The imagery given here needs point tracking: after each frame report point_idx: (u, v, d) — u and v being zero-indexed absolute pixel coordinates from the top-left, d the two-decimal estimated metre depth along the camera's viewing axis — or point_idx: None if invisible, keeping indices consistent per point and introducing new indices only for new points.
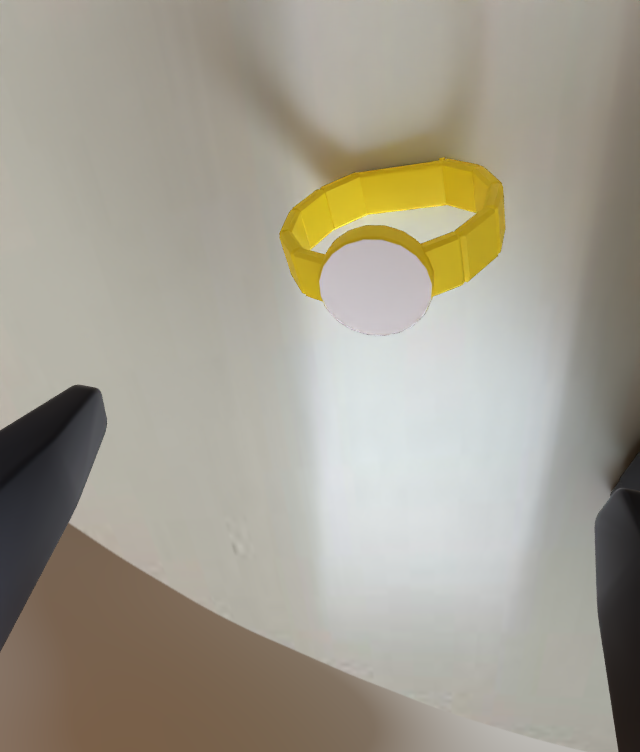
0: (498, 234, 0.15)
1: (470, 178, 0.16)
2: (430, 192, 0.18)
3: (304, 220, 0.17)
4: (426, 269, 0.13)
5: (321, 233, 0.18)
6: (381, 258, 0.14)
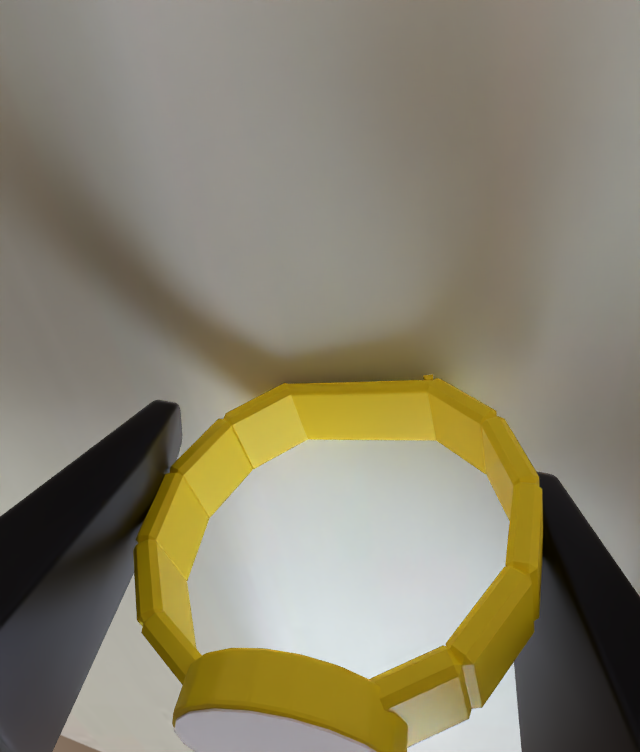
0: (536, 600, 0.07)
1: (477, 431, 0.09)
2: (409, 423, 0.11)
3: (192, 484, 0.10)
4: None
5: (229, 487, 0.11)
6: None
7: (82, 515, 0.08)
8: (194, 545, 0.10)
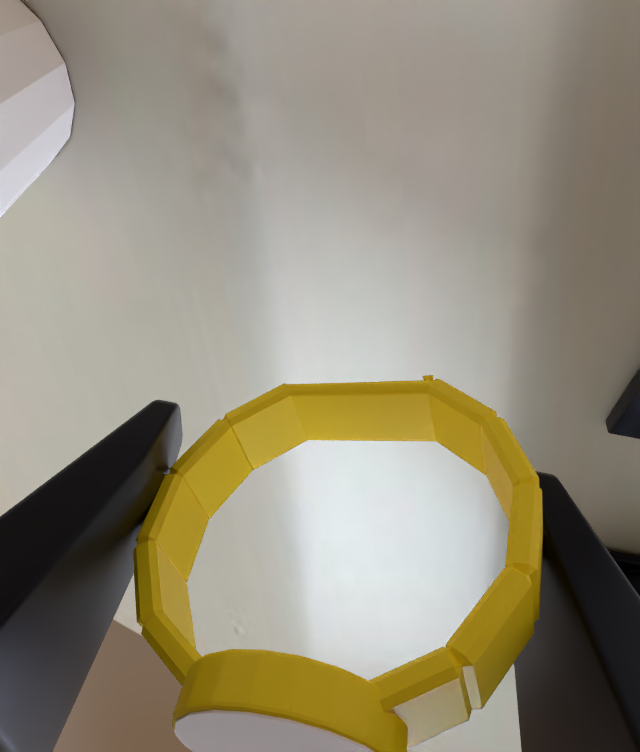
0: (536, 601, 0.07)
1: (477, 432, 0.09)
2: (409, 424, 0.11)
3: (192, 485, 0.10)
4: None
5: (228, 488, 0.11)
6: None
7: (82, 515, 0.08)
8: (194, 546, 0.10)
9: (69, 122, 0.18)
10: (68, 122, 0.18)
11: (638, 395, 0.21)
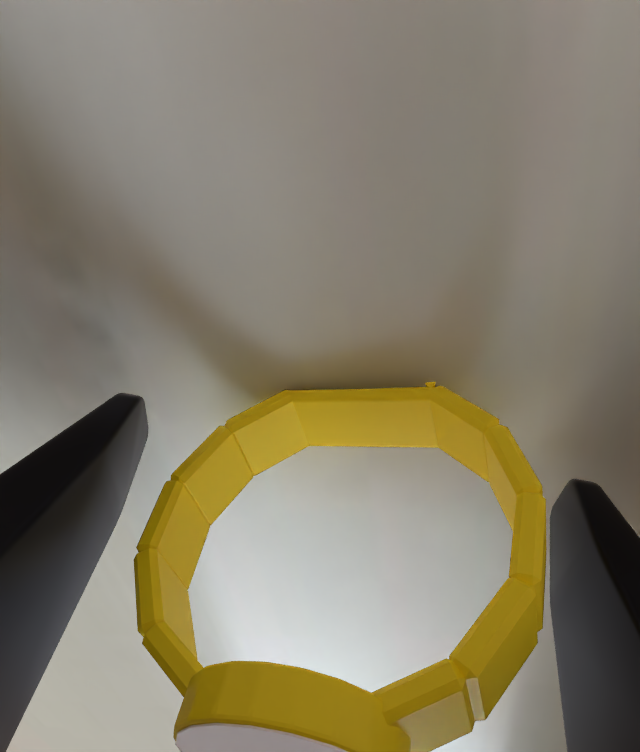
0: (539, 612, 0.07)
1: (480, 439, 0.09)
2: (411, 431, 0.10)
3: (193, 492, 0.10)
4: None
5: (230, 494, 0.11)
6: None
7: (35, 505, 0.08)
8: (195, 553, 0.10)
9: None
10: None
11: None
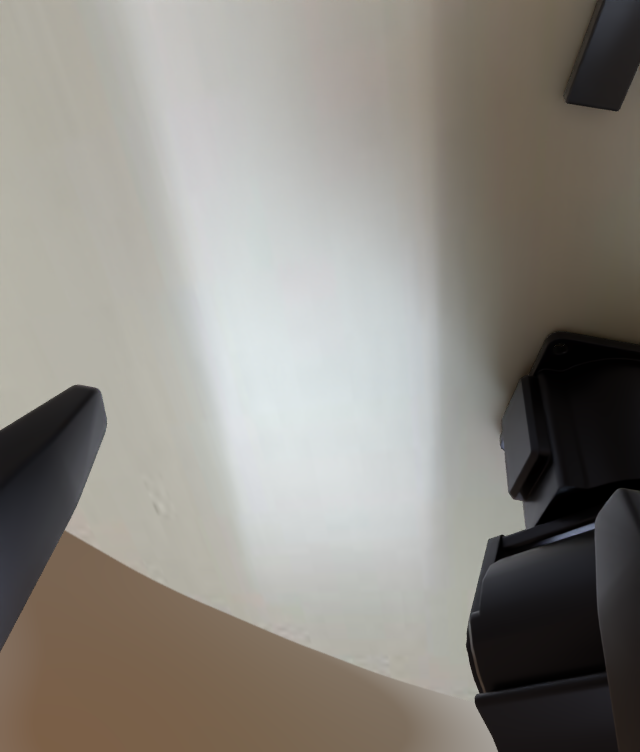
0: None
1: None
2: None
3: None
4: None
5: None
6: None
7: None
8: None
9: None
10: None
11: (603, 19, 0.15)
